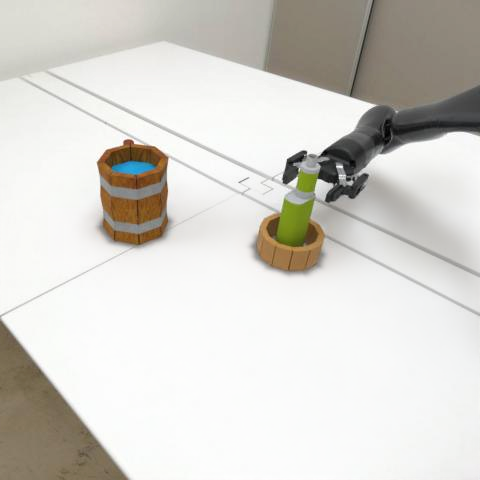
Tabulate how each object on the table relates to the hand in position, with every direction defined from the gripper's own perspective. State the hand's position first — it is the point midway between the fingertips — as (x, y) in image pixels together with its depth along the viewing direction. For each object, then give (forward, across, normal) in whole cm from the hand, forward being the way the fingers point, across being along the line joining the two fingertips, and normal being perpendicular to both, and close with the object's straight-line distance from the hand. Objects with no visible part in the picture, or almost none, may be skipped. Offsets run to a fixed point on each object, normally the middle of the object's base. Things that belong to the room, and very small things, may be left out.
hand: (305, 188), depth 81 cm
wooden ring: (+2, 0, +13) cm, 13 cm away
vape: (+2, 0, +13) cm, 13 cm away
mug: (+15, -29, +13) cm, 35 cm away
